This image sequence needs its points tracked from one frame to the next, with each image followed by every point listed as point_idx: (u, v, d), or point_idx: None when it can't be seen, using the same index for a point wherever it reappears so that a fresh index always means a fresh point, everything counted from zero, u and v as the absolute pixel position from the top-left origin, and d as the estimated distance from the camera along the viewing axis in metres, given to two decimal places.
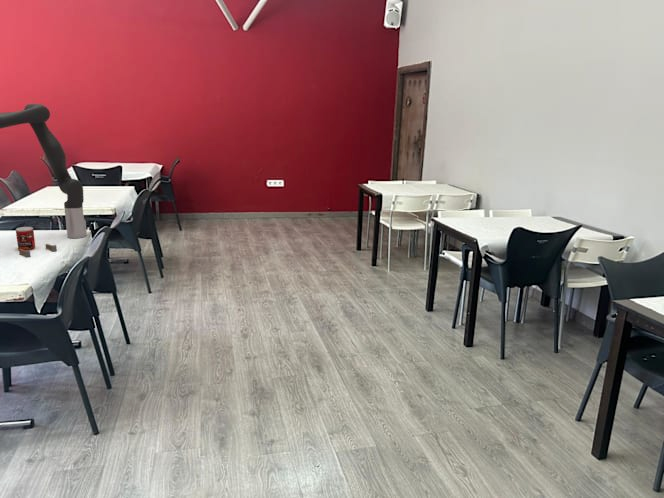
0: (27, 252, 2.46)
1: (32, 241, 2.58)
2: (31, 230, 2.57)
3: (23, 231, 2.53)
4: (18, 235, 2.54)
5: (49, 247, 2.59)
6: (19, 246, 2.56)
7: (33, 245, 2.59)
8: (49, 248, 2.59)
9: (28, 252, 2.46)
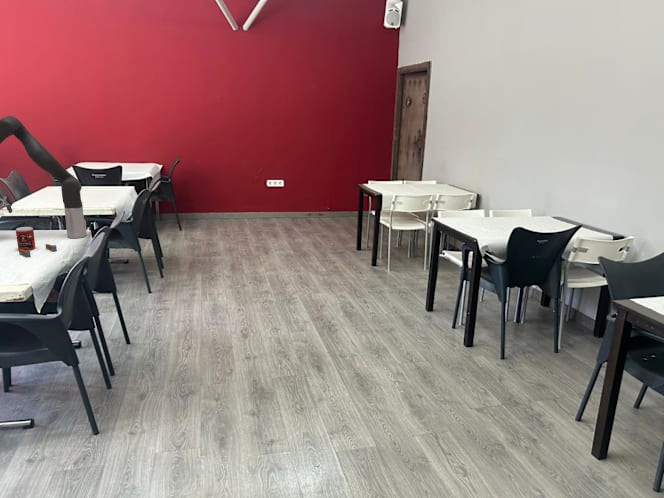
0: (27, 252, 2.46)
1: (32, 241, 2.58)
2: (31, 230, 2.57)
3: (23, 231, 2.53)
4: (18, 235, 2.54)
5: (49, 247, 2.59)
6: (19, 246, 2.56)
7: (33, 245, 2.59)
8: (49, 248, 2.59)
9: (28, 252, 2.46)
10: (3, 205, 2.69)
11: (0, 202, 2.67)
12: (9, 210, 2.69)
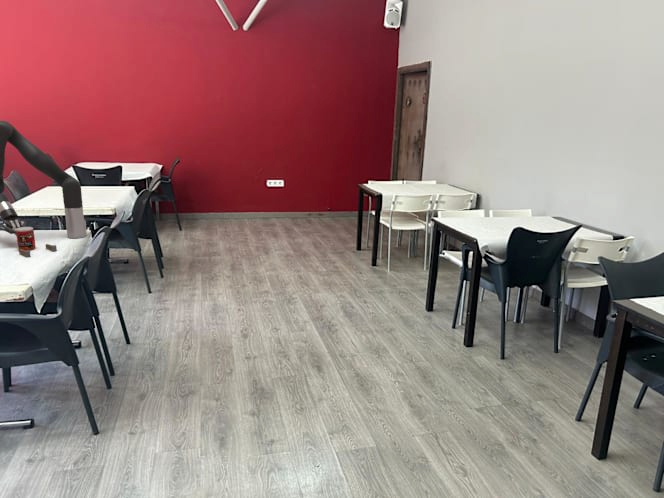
0: (27, 252, 2.46)
1: (32, 241, 2.58)
2: (31, 230, 2.56)
3: (23, 231, 2.53)
4: (18, 235, 2.54)
5: (49, 247, 2.59)
6: (19, 246, 2.55)
7: (33, 245, 2.59)
8: (49, 248, 2.59)
9: (28, 252, 2.46)
10: None
11: None
12: None
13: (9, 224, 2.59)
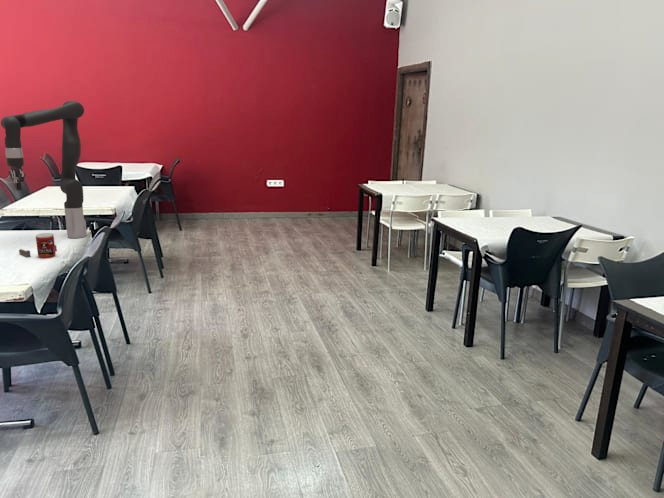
0: (27, 252, 2.46)
1: (53, 248, 2.48)
2: (52, 236, 2.47)
3: (44, 238, 2.44)
4: (39, 242, 2.44)
5: None
6: (39, 253, 2.46)
7: (54, 252, 2.49)
8: None
9: (28, 252, 2.46)
10: None
11: None
12: None
13: None
